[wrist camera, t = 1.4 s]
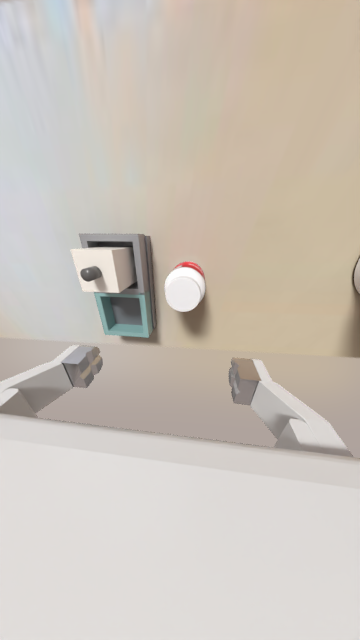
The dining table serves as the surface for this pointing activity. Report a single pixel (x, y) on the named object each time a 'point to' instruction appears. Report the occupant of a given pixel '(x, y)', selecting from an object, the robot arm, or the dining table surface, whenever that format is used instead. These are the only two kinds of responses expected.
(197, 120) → the dining table surface
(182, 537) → the robot arm
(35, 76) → the dining table surface
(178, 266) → the pill bottle
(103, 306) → the teal tray with block
